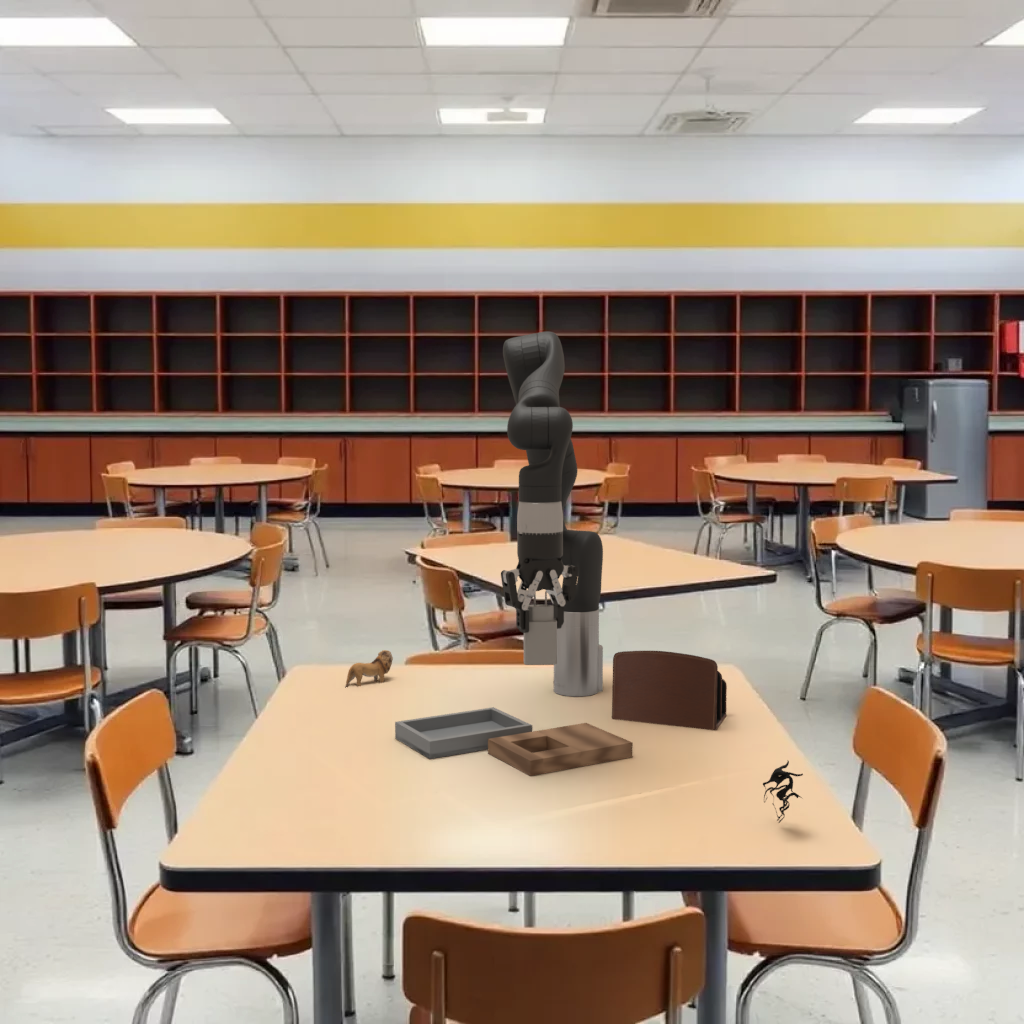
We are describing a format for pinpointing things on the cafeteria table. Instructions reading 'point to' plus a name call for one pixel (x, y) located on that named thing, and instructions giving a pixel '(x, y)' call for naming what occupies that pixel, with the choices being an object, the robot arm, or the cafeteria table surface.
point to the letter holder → (668, 689)
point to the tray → (457, 731)
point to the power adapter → (541, 635)
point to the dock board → (559, 748)
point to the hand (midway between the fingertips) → (540, 629)
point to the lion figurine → (371, 668)
